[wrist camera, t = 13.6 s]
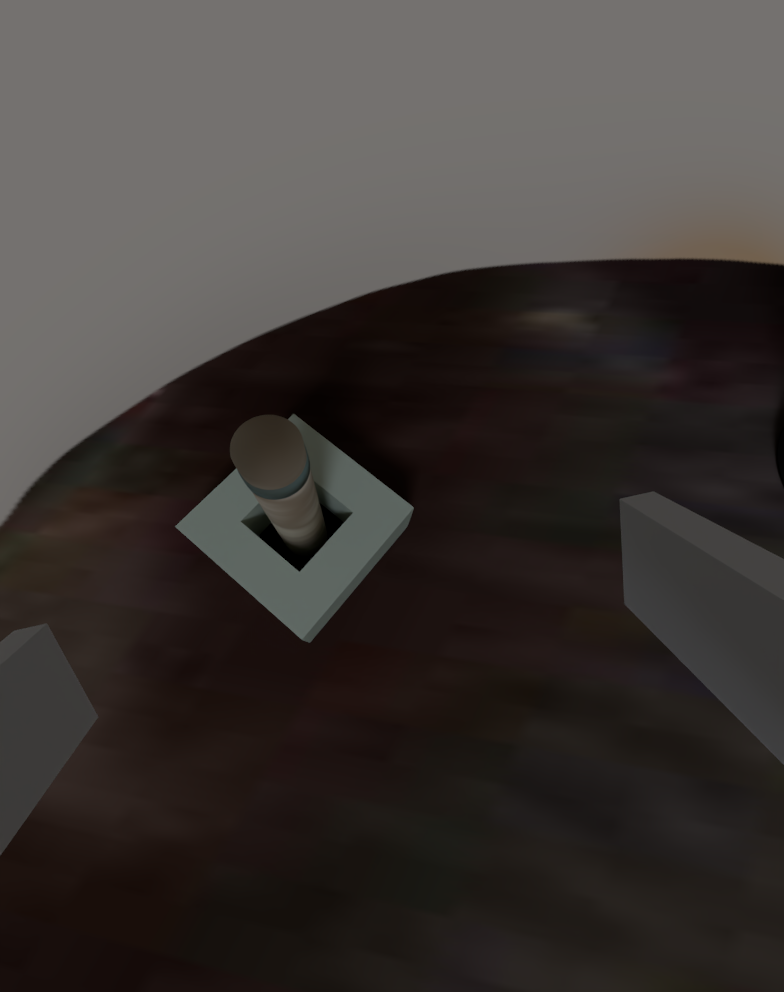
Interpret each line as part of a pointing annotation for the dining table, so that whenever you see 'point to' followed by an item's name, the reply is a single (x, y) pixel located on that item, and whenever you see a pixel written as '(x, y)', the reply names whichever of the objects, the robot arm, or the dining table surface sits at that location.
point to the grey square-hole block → (334, 568)
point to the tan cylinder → (281, 480)
